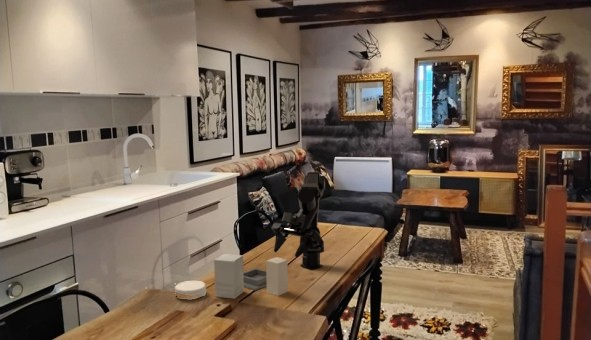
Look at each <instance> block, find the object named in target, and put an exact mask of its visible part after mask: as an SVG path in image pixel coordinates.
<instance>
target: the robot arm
mask: <svg viewBox="0 0 591 340" xmlns="http://www.w3.org/2000/svg"><path fill="white" fill-rule="evenodd" d="M325 190H326V180H325V177H324V176H323V175H321V172H319V171H309V172H307V175H306V176H305V177H304V184H302V185H301V186H300V189H298V192H297V200H298V205H299V208H300V209H299V210H298V212H297V213H291V212H283V216H282V219H281V222H283V223H280V222H274V223H273V224H272V226H271V230H272V232H273V233H274V235H275V239H274V240H275V242H274V246H273V247H274V249H273V252H274V253H277V252H278V251H279V250H280V249H281V247H282V246H283V245H284V244H285V243H286V241H287V238H288V237H289V235H290V236H295V237H299V245H298V246H297V249H296V252H295V253H294V257H295V258H299V257H300V256H301V255H302V256H301V258H302V260H301V261H302V264H300V267H303V268H305V269H307V270H309V271H310V270H315V269H318V268H319V269H320V268H322V267H323V264H321V254H322V253H324V252H325V241H324V240H323V237H322V236H321V231H320V228H319V227H318V223H319V209H320V207H319V206H320V205H319V203H320V199H321V198H322V197H323V196H324V191H325ZM284 223H287V224H286V225H287V226H286V225H285V224H284ZM288 227H289V228H288Z"/></svg>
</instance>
